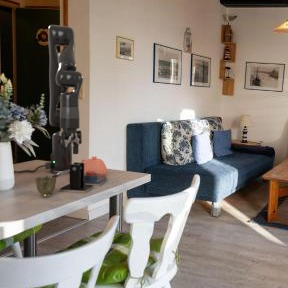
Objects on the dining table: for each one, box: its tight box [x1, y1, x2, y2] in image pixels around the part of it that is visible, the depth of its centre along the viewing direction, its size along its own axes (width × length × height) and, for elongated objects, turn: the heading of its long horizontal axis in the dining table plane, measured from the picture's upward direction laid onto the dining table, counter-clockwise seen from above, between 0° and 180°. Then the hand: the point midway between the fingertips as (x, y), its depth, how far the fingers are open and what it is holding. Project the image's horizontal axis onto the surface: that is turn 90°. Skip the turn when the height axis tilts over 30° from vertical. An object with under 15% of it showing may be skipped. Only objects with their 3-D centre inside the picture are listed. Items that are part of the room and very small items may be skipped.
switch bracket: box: [59, 161, 94, 192], centre depth 166 cm, size 11×9×12 cm
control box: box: [84, 173, 108, 185], centre depth 179 cm, size 12×10×4 cm
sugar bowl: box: [80, 156, 108, 176], centre depth 192 cm, size 12×14×10 cm
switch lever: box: [51, 164, 82, 178], centre depth 165 cm, size 12×5×2 cm, turn 91°
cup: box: [35, 175, 57, 197], centre depth 153 cm, size 8×7×8 cm
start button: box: [86, 171, 95, 176], centre depth 179 cm, size 4×4×2 cm
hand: (70, 155), depth 161 cm, fingers open, 8 cm apart
